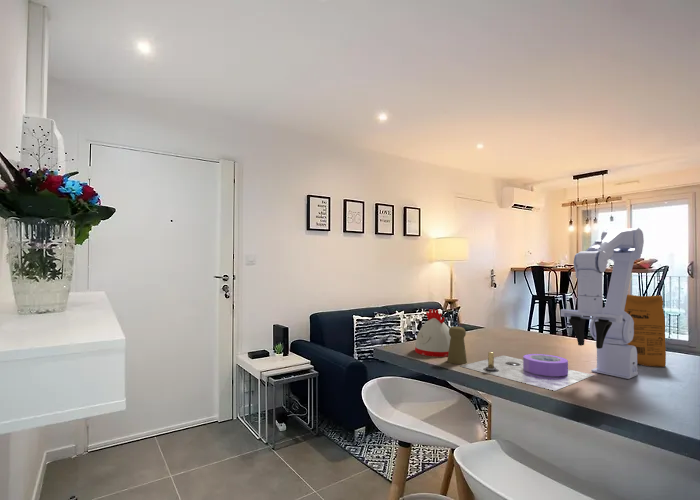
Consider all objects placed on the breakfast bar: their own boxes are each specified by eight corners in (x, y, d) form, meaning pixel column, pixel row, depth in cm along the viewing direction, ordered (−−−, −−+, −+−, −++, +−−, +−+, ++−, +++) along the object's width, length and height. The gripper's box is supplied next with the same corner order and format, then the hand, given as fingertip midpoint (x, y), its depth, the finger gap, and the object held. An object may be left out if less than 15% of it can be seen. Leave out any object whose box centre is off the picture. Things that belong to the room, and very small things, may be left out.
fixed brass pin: (498, 370, 115) (498, 352, 115) (492, 371, 113) (492, 354, 113) (489, 367, 117) (489, 351, 117) (484, 369, 115) (484, 352, 115)
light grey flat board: (594, 375, 111) (594, 374, 111) (554, 391, 97) (554, 390, 97) (503, 355, 134) (503, 355, 134) (459, 366, 119) (459, 365, 119)
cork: (451, 358, 129) (451, 324, 129) (469, 361, 125) (469, 326, 125) (444, 362, 124) (444, 327, 124) (463, 365, 120) (463, 329, 120)
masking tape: (514, 366, 119) (514, 354, 119) (548, 365, 121) (548, 352, 122) (541, 378, 107) (541, 364, 108) (577, 376, 110) (577, 362, 110)
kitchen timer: (434, 346, 147) (434, 306, 148) (464, 353, 136) (464, 310, 136) (407, 350, 139) (407, 308, 140) (435, 358, 128) (436, 312, 129)
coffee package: (615, 357, 134) (615, 292, 135) (661, 362, 128) (660, 294, 129) (619, 363, 125) (619, 294, 126) (668, 369, 120) (667, 296, 120)
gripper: (555, 294, 109) (555, 343, 108) (615, 298, 97) (615, 353, 97) (566, 293, 113) (566, 340, 113) (625, 297, 102) (625, 350, 101)
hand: (590, 346), depth 105 cm, fingers open, 4 cm apart
